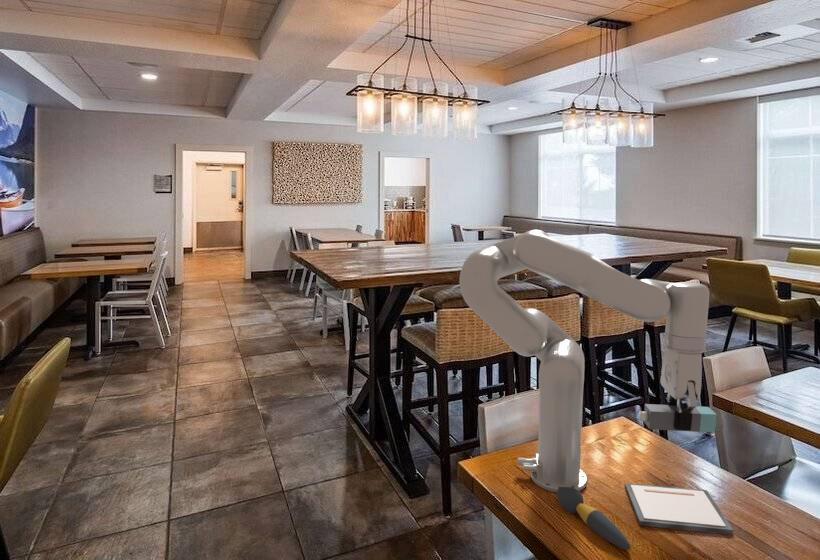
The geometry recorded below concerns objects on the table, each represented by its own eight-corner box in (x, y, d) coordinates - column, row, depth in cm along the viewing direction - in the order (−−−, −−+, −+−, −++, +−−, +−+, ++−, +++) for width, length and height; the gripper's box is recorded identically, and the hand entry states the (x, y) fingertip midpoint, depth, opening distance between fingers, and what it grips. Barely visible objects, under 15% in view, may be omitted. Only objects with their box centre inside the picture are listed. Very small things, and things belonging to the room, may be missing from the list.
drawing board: (639, 525, 103) (640, 519, 103) (624, 487, 116) (625, 482, 116) (732, 534, 99) (733, 528, 99) (706, 494, 113) (706, 489, 113)
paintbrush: (642, 547, 97) (643, 522, 96) (625, 556, 94) (626, 532, 93) (561, 496, 114) (562, 475, 113) (545, 503, 111) (546, 482, 110)
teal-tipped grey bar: (642, 428, 109) (643, 411, 108) (636, 420, 113) (638, 403, 112) (715, 432, 107) (716, 414, 106) (707, 424, 111) (708, 406, 110)
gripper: (652, 331, 115) (647, 408, 118) (680, 353, 99) (673, 441, 102) (688, 332, 114) (682, 409, 117) (722, 354, 98) (714, 444, 101)
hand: (678, 423), depth 109 cm, fingers closed on teal-tipped grey bar, 4 cm apart
